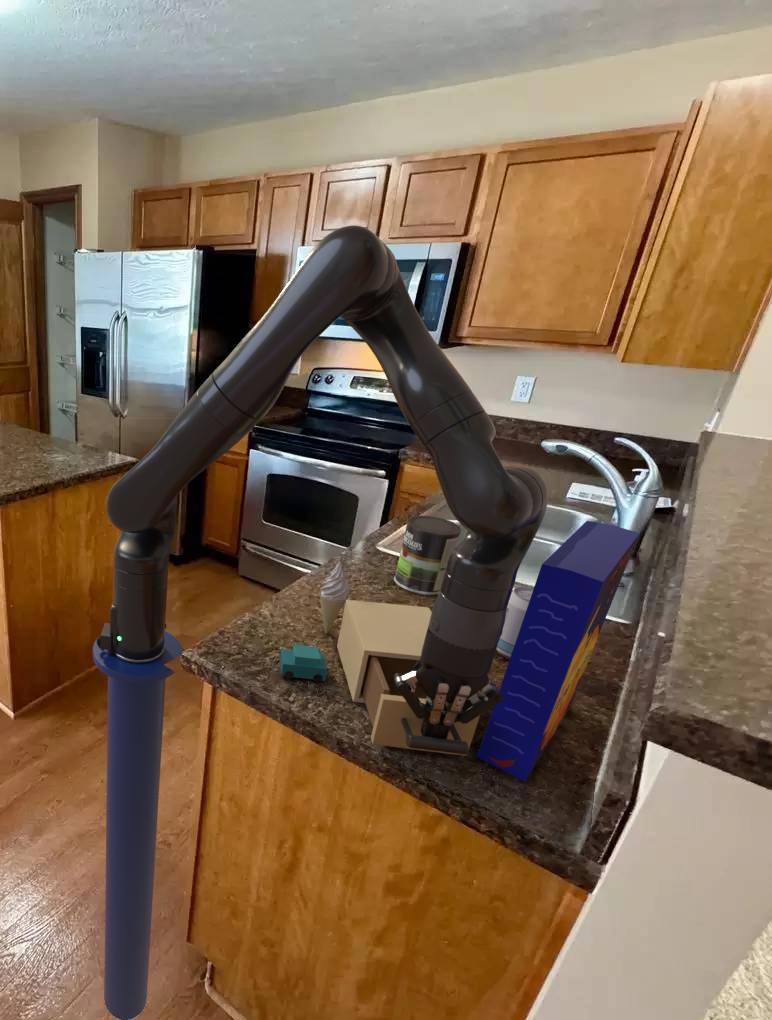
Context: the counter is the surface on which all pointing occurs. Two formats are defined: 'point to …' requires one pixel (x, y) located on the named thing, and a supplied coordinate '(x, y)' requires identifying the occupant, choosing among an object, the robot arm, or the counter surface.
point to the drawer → (405, 711)
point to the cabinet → (378, 636)
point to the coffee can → (425, 554)
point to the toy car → (303, 663)
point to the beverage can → (514, 619)
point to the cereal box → (555, 644)
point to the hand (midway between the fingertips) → (431, 741)
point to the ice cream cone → (333, 596)
